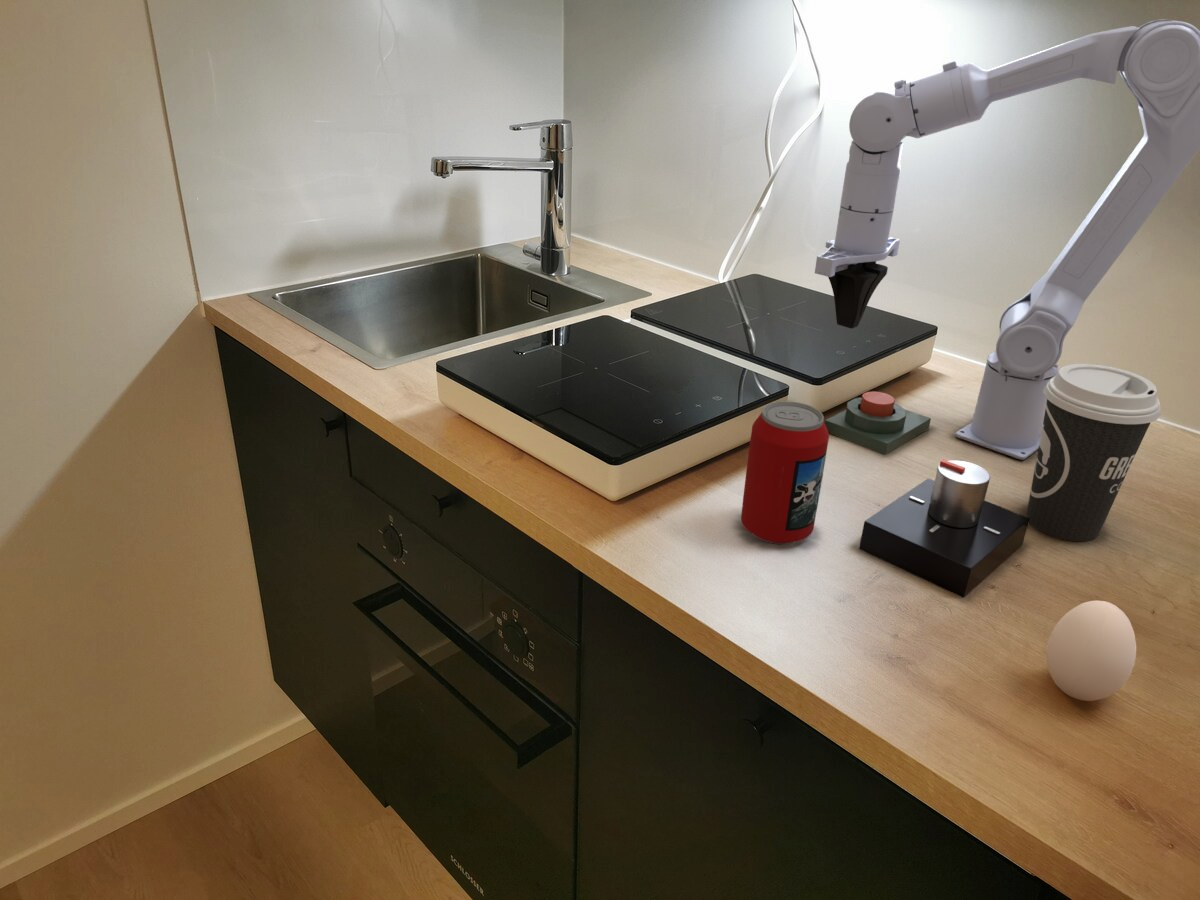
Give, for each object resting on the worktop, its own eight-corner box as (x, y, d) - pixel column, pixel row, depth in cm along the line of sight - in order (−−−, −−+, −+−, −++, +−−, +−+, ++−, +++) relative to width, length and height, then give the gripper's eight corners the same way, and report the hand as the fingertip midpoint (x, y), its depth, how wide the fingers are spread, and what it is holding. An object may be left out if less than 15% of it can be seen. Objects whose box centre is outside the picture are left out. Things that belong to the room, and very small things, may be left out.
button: (870, 402, 106) (872, 388, 105) (898, 412, 103) (900, 398, 103) (853, 411, 103) (856, 396, 103) (882, 421, 101) (884, 407, 100)
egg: (1129, 696, 66) (1164, 608, 63) (1099, 731, 63) (1134, 641, 59) (1054, 658, 70) (1083, 572, 66) (1022, 690, 66) (1050, 602, 63)
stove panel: (922, 504, 90) (928, 476, 89) (1022, 545, 84) (1030, 516, 82) (858, 549, 82) (864, 519, 81) (963, 598, 76) (971, 567, 75)
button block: (868, 407, 111) (872, 384, 110) (928, 429, 106) (934, 405, 105) (823, 430, 104) (826, 407, 103) (885, 455, 100) (890, 430, 98)
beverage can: (812, 554, 81) (833, 434, 76) (737, 544, 82) (752, 425, 77) (812, 516, 87) (831, 402, 82) (741, 507, 88) (755, 394, 83)
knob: (987, 516, 82) (999, 469, 80) (965, 533, 80) (977, 486, 77) (941, 497, 85) (952, 452, 83) (919, 514, 82) (929, 467, 80)
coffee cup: (1066, 559, 82) (1115, 408, 75) (988, 508, 90) (1025, 367, 83) (1140, 539, 86) (1193, 393, 79) (1058, 491, 93) (1100, 355, 87)
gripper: (868, 193, 107) (850, 304, 113) (798, 209, 98) (782, 329, 104) (924, 204, 103) (901, 318, 109) (856, 222, 93) (836, 346, 100)
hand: (847, 325), depth 106 cm, fingers closed
